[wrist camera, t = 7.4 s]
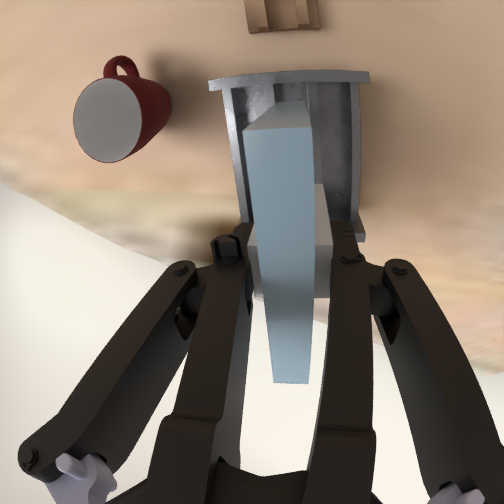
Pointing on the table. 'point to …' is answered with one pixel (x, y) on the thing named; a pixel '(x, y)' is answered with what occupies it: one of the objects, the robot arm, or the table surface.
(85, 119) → the mug
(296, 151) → the light blue slab
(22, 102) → the table surface
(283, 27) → the stand
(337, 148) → the rack
